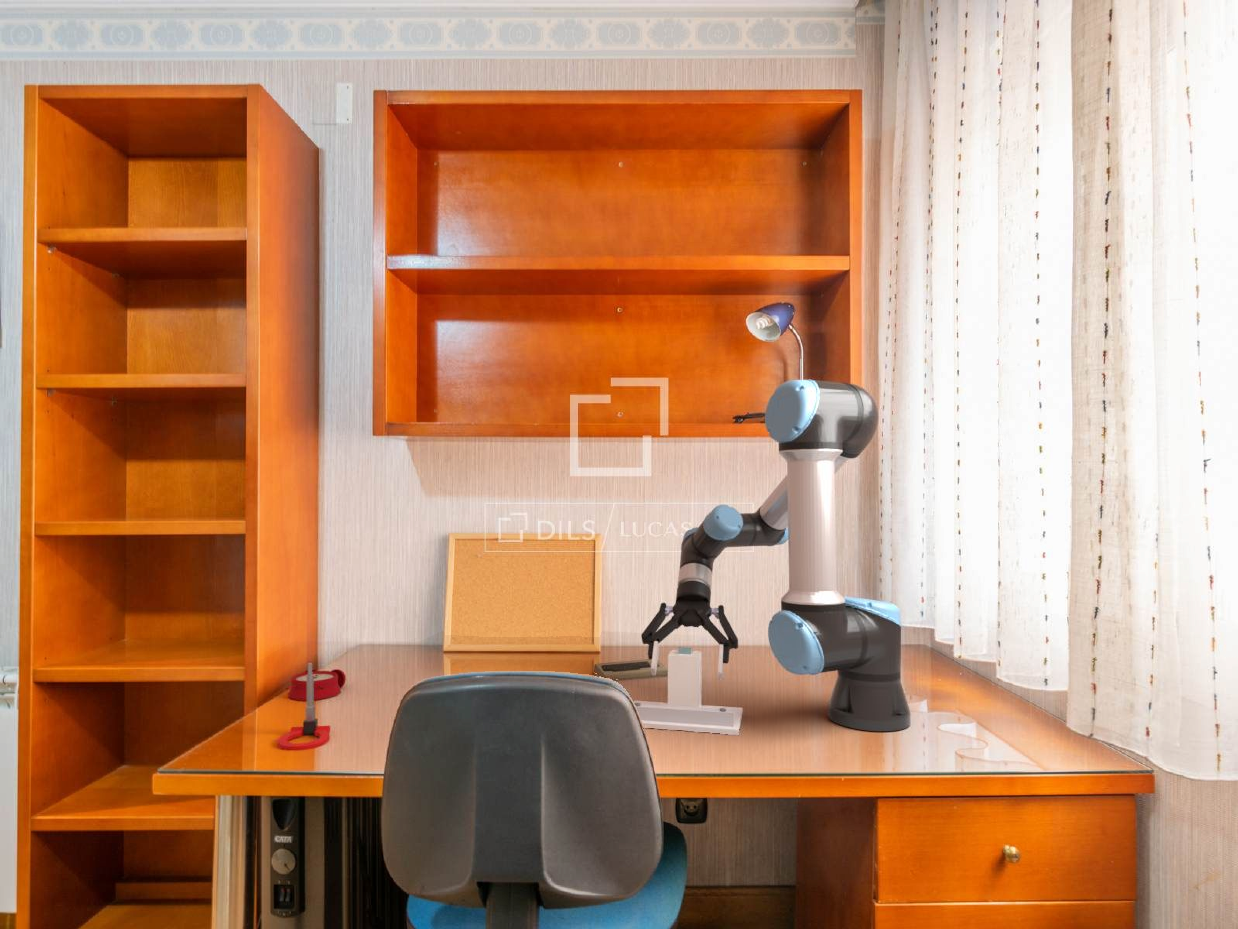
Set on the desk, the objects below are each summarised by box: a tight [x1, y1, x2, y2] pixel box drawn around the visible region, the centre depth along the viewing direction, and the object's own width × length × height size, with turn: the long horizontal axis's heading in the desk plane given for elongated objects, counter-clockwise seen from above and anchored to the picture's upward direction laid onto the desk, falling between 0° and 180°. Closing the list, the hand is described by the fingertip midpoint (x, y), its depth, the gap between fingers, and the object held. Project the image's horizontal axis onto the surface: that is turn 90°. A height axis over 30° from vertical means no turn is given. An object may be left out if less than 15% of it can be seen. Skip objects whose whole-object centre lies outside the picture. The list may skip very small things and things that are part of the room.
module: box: [667, 646, 703, 708], centre depth 154 cm, size 6×5×12 cm
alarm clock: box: [285, 668, 347, 703], centre depth 168 cm, size 10×6×15 cm
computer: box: [593, 658, 668, 682], centre depth 185 cm, size 16×8×3 cm, turn 110°
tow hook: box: [277, 662, 331, 751], centre depth 137 cm, size 8×13×9 cm
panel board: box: [633, 700, 744, 736], centre depth 150 cm, size 22×14×4 cm, turn 78°
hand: (686, 674), depth 159 cm, fingers open, 13 cm apart
